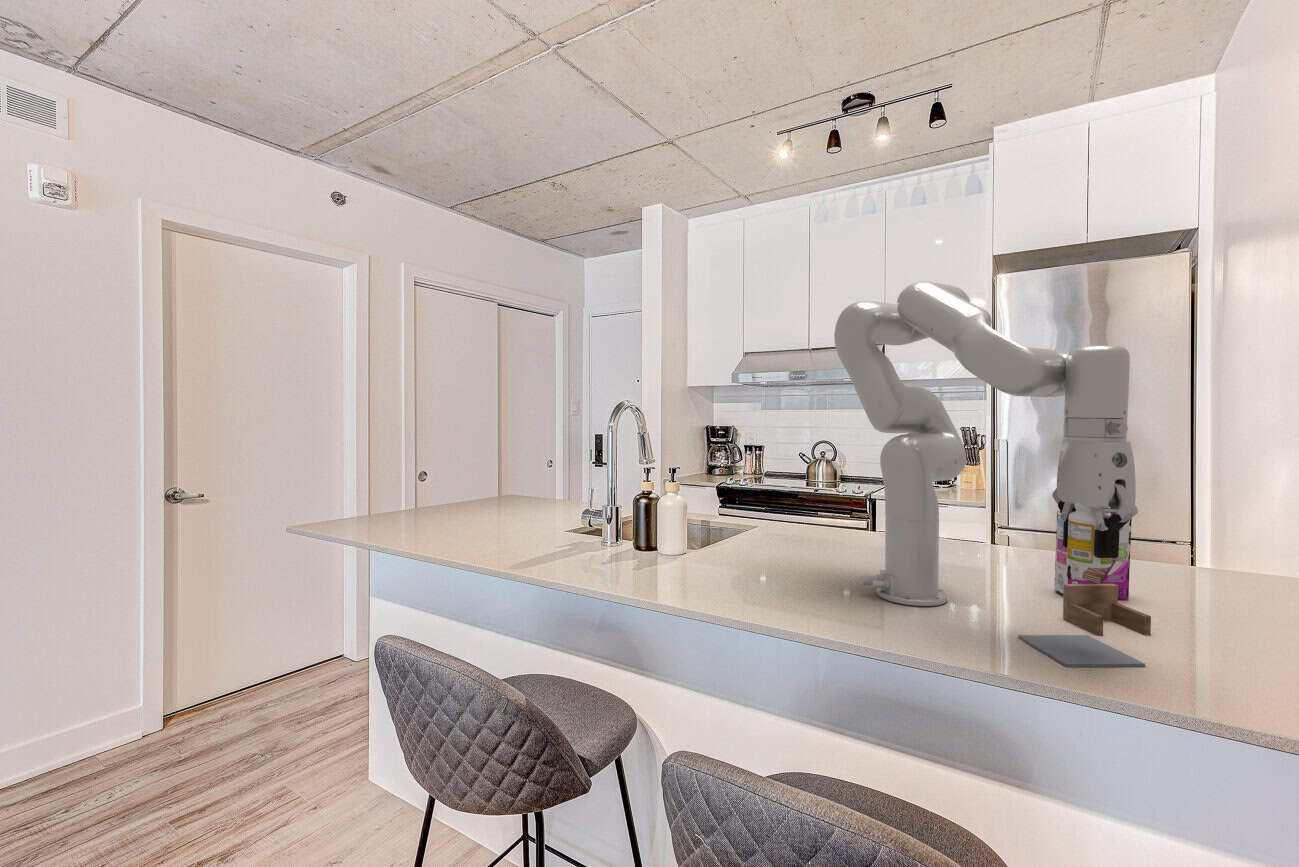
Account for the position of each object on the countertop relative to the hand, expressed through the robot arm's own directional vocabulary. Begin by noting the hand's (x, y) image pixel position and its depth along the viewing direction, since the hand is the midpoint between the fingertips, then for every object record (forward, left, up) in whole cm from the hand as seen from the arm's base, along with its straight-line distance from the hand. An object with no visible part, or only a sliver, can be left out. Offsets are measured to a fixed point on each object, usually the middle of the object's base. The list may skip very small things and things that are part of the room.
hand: (1089, 550), depth 89 cm
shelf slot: (+10, +10, -15) cm, 20 cm away
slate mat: (-2, 0, -15) cm, 15 cm away
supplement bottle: (0, 0, -2) cm, 2 cm away
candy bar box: (+20, +27, -15) cm, 37 cm away
